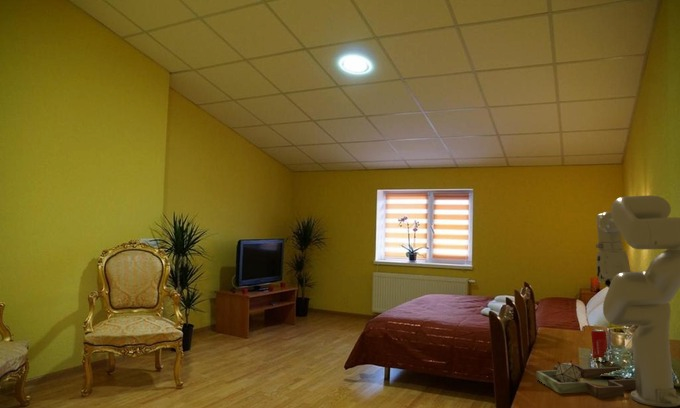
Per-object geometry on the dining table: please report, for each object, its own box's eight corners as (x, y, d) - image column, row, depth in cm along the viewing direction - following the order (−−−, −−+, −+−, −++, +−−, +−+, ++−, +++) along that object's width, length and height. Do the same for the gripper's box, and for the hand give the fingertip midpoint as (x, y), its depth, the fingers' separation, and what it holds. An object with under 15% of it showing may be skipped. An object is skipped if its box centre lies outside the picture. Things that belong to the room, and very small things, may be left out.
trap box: (662, 394, 144) (661, 384, 144) (569, 399, 142) (568, 389, 142) (608, 371, 171) (607, 362, 171) (528, 375, 169) (528, 366, 169)
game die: (575, 399, 153) (586, 379, 148) (548, 388, 156) (558, 368, 151) (577, 379, 160) (587, 359, 155) (551, 368, 163) (560, 349, 158)
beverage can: (600, 363, 181) (598, 331, 182) (590, 360, 186) (588, 329, 187) (611, 361, 183) (608, 330, 184) (600, 358, 188) (598, 328, 189)
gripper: (597, 247, 163) (601, 300, 161) (637, 246, 164) (642, 299, 162) (584, 247, 170) (588, 298, 169) (623, 246, 171) (627, 296, 170)
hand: (614, 298), depth 166 cm, fingers closed
